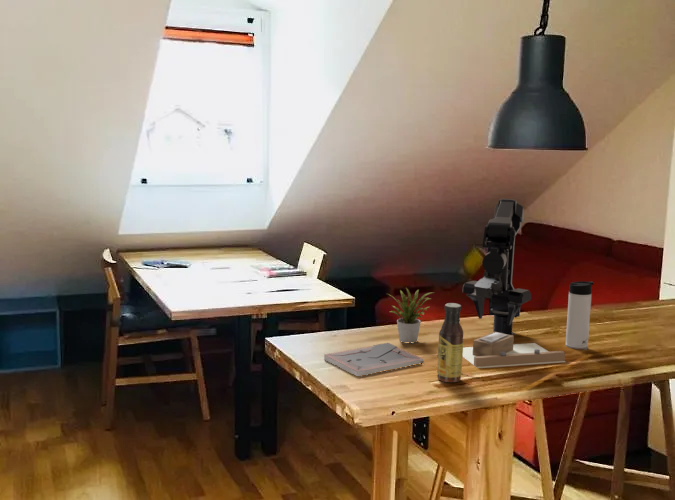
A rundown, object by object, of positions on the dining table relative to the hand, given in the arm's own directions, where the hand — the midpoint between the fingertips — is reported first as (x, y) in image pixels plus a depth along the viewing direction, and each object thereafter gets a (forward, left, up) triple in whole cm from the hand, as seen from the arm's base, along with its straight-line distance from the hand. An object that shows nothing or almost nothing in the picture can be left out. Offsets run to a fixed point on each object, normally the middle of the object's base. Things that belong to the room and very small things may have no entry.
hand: (494, 321), depth 219 cm
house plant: (-17, -18, -10) cm, 27 cm away
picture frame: (-1, -35, -11) cm, 37 cm away
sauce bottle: (+17, -20, -10) cm, 28 cm away
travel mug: (-1, +27, -10) cm, 29 cm away
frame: (0, 0, -9) cm, 9 cm away
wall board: (+3, +3, -10) cm, 11 cm away
